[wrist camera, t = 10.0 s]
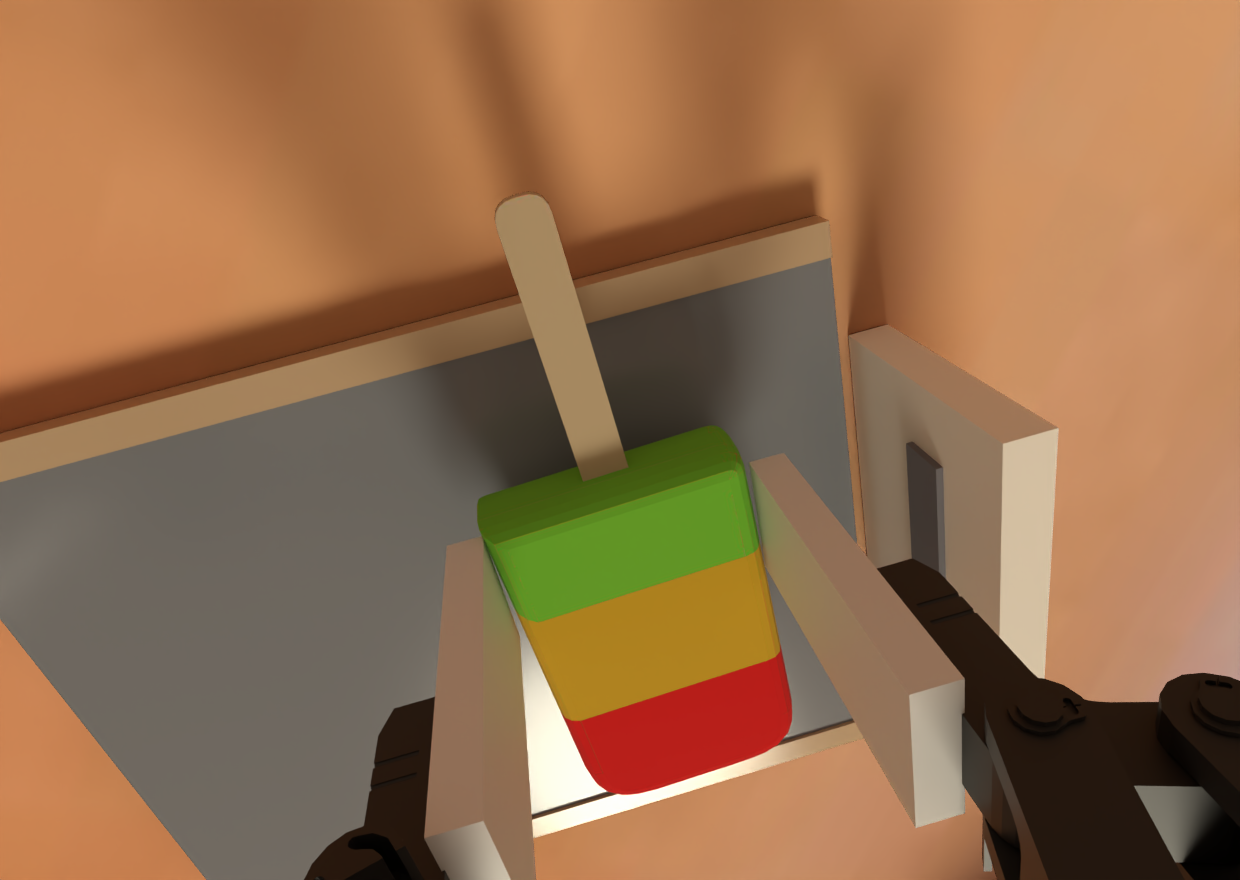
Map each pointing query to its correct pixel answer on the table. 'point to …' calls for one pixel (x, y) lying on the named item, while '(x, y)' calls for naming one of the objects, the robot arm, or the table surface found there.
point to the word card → (956, 483)
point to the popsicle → (633, 564)
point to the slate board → (382, 537)
